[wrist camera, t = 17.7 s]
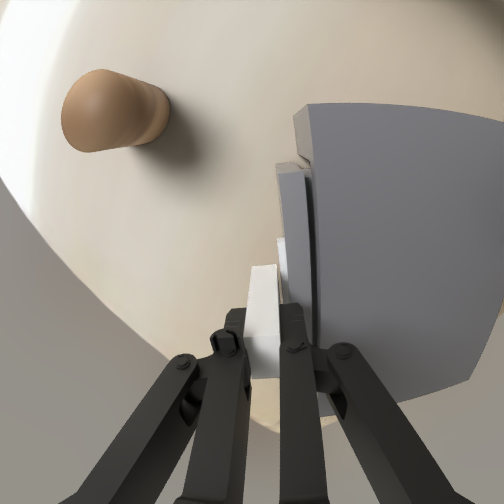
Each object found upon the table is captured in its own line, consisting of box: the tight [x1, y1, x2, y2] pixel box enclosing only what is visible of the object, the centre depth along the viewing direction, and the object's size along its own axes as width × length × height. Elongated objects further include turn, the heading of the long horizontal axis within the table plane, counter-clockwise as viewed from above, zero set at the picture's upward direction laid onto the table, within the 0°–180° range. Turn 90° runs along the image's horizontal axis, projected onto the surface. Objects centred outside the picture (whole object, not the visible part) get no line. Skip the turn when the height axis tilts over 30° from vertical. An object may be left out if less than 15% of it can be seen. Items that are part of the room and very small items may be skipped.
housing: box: [293, 103, 504, 417], centre depth 16 cm, size 20×14×7 cm
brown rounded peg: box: [61, 69, 170, 153], centre depth 13 cm, size 4×4×6 cm
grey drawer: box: [275, 162, 318, 347], centre depth 17 cm, size 14×14×5 cm
